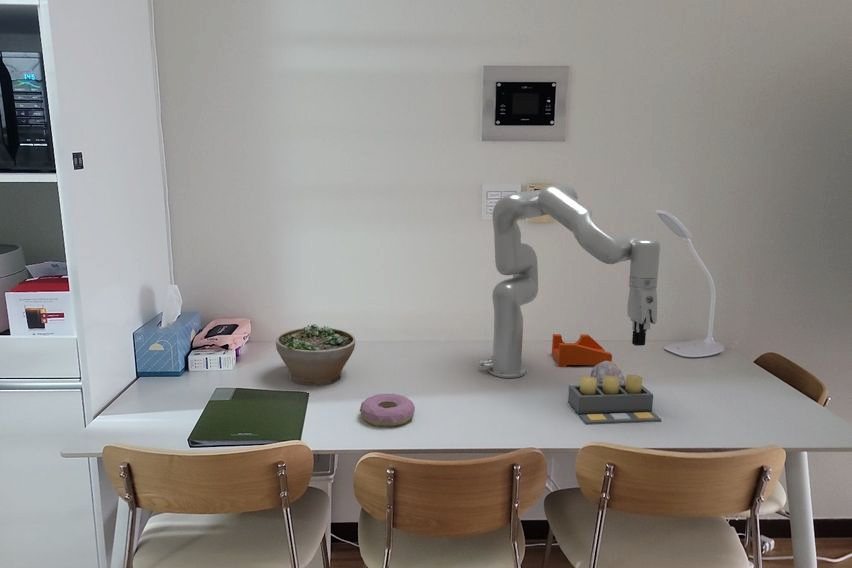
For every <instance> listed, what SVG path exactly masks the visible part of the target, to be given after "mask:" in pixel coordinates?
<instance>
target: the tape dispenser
mask: <svg viewBox="0 0 852 568" xmlns="http://www.w3.org/2000/svg"><path fill="white" fill-rule="evenodd" d="M562 337H563V336H562V334H561V333H559V334H558V333H557V334H556V333H553V334H552V342H551V343H552V345H551V357H552V356H553V357H552V359H553V360H554V361H556V362H555V363H556V365H557V364H558V365H557V366H558V368H567V366H569V365H571V366H576V365H577V366H596V365H597V364H599V363H601V362H603V361H611V362H613V360H612V359H613V354H612V353H611V352H610V351H609V352H608V351H606V350H605V349H604V348H603V347H602V346H601V345H600V344H599V343H598V342H597V341H596V340H595V339H594V338H592V336H590V335H589V334H587V333H586V334H580V335H579V338H578V339H577V341H576V342H574V343H572V342H571V343H570V342H565V341H564V340H563V338H562Z"/></svg>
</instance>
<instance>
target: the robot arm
mask: <svg viewBox="0 0 852 568" xmlns="http://www.w3.org/2000/svg"><path fill="white" fill-rule="evenodd" d="M578 198H579V197H578V194H577V191H576V190H575V188H574V187H573V186H571V185H568V184H565V183H561V184H560V183H559V184H550V185H547V186H545V187H544V188H541V189H537V190H530V191H529V190H528V191H518V192H512V193H510V194H509V193H508V194H506V195H504V196H503V197H500V199H498V200H497V202H496V203H495V205H494V207H493V208H492V209H493V210H492V225H493V233H494V237H493V239H494V242H493V243H494V257H495V258H494V259H495V260H494V262H495V268H496V270H497V272H498V273H499V274H500V275H503V276H512V277H511V278H508V279H504V280H502V281H500V282H498V283H497V284H496V285H495V287H494V289H492V296H491V297H492V304H493V319H494V321H493V345H492V347H493V348H492V356H490V358H488V359H487V360H484V359H480V360H478V366H479V367H482V366H483V368H484V369H485V368H487V372H488V373H489V374H491V375H492V376H494V377H497V378H498V377H499V378H504V379H505V378H506V379H514V378H520V377H522V376H524V375H525V374H526V369H527V368H526V367H524V366H523V365H522V358H523V357H522V356H523V339H524V338H523V336H524V335H523V334H524V317H523V312H522V308H521V306H525V305H527V304H529V303H531V302H533V301H534V300H535V299H536V297H537V295H538V292H539V272H538V271H539V270H538V269H539V268H538V265H539V264H538V257H537V254H536V252H535V250H534V248H533V247H532V246H531V245H529V244H527V243H522V234H521V228H520V227H519V224H518V221H519V220H525V219H531V218H539V217H542V216H547V215H548V216H550V218H553V219H554V220H555V221H557V222H558V223H559V224H561V225H562V226H564V228H566V229H567V230H568V231H569V232H571V233H572V234H573V236H574V239H575V240H576V241H577V242H578V244H579V246H580V247H581V248H583V250H585V252H587V253H588V254H590V256H592V257H593V258H595V259H597V260H599V262H601V263H603V264H607V265H615V264H618V263H621V262H626V261H630V264H629V265H630V266H629V277H628V278H629V279H628V280H629V281H628V287H629V289H628V290H629V292H628V299H627V312H626V313H627V317H629V318H630V321H631V322H632V323H631V324H632V339H631V344H632V345H633V346H636V347H637V346H638V347H641V346H645V345H646V338H647V337H646V336H647V332H648V330H651V325H652V324H653V325H655V324H656V323H657V321H658V319H657V318H658V292H657V287H658V275H659V263H660V253H661V252H660V251H661V244H660V241H659V240H657V239H655V238H651V237H650V238H649V237H648V238H647V237H636V236H633V235H629V234H619V235H614V236H609V234H607V233H605V232H604V231H602V230H601V229H600V228H598V226H597V225H595V223H594V222H593V220H592V216H593V212H592V210H591V208H590V207H588V206H586V205H585V204H584V203H582V202H580V201H579V200H578Z"/></svg>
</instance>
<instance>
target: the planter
mask: <svg viewBox="0 0 852 568" xmlns="http://www.w3.org/2000/svg"><path fill="white" fill-rule="evenodd" d="M355 346H356V337H354V335H353V334H352V333H350V332H348V331H346V330H342V329H336V328H332V327H329V326H328V325H327V326H325V325H323V327H319V325H318V324H317V323H313V324H311V325H309V324H308V325H307V326H305V327H302V328H297V329H292V330H289V331H286V332H285V331H284V332H283V333H281V334H280V335H278V336H277V338H276V340H275V347H276V352H277V353H278V354H279V356H280V358H281V360H282V361H283V363H284V365H285V367H286V368H287V369H288V372H289V373H290V380H291V381H292V382H293V383H294V384H297V385H301V386H308V387H317V386H318V387H319V386H320V387H321V386H326V385H327V386H328V385H330V384H333V383H336V382H338V381H340V379H341V374H342V371H343V369H344V367H345V366H346V364H347V362H348V361H349V359H350V358H351V357H352V354H353V352H354V350H355Z"/></svg>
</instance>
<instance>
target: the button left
mask: <svg viewBox="0 0 852 568" xmlns="http://www.w3.org/2000/svg"><path fill="white" fill-rule="evenodd" d="M596 384H597V379H596V378H595V377H591V375H583V376H581V377H580V381H579V385H580V392H579V393H580V394H581V395H582V396H583V395H596Z"/></svg>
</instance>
